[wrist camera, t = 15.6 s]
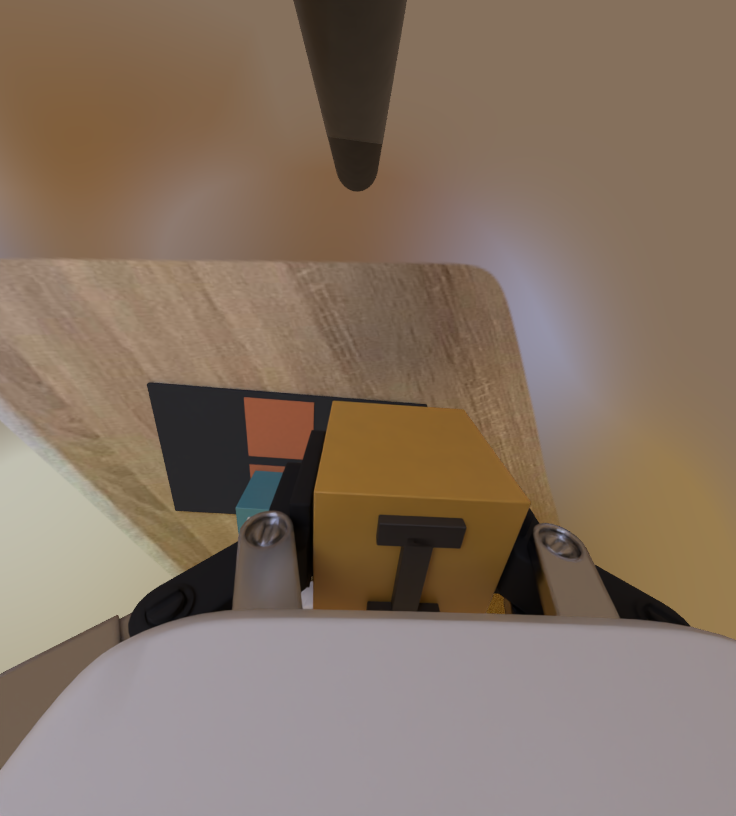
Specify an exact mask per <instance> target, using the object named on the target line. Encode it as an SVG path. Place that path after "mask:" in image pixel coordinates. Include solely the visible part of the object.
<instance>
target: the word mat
mask: <svg viewBox="0 0 736 816" xmlns="http://www.w3.org/2000/svg"><path fill="white" fill-rule="evenodd" d="M147 387H148V392H149V396H150V400H151V405H152V409H153V414H154V418H155V422H156V427H157V431H158V436H159V440H160V444H161V449H162V453H163V458H164V462H165V466H166V471H167V475H168V480H169V484H170V488H171V493H172V497H173V502H174V506H175V510H176V511H190V512H208V513H226V514H236V506H237V504H238V502H239V500H240V498H241V497H242V495H243V493H244V491H245V489H246V487H247V485H248V483H249V481H250V480H251V478H252V476H253V474H254V472H255V471H269V472H283V471H284V468H285V466H286V464H287V462H296V463H302V460H303V456H304V453H305V450H306V446H307V443H308V440H309V436H310V433H311V430H321V431H327V426H328V421H329V416H330V412H331V407H332V402H333V401H345V402H360V403H375V404H390V405H404V406H419V407H427V405H425V404H412V403H400V402H387V401H375V400H362V399H350V398H337V397H325V396H312V395H300V394H287V393H275V392H262V391H250V390H237V389H224V388H212V387H199V386H187V385H174V384H162V383H148V384H147Z"/></svg>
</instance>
